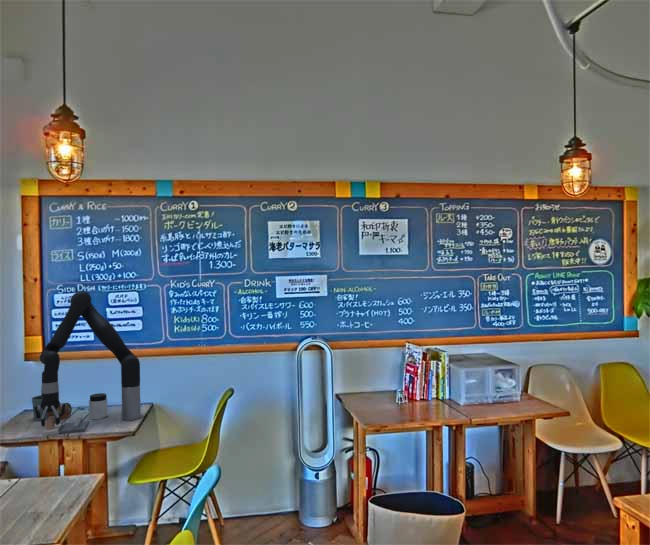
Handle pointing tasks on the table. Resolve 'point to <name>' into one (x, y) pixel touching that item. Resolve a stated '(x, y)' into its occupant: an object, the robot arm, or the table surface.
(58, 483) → the table surface
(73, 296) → the robot arm
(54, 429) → the white plate with block
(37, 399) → the blue pot
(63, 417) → the tin
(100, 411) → the jar
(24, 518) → the table surface
